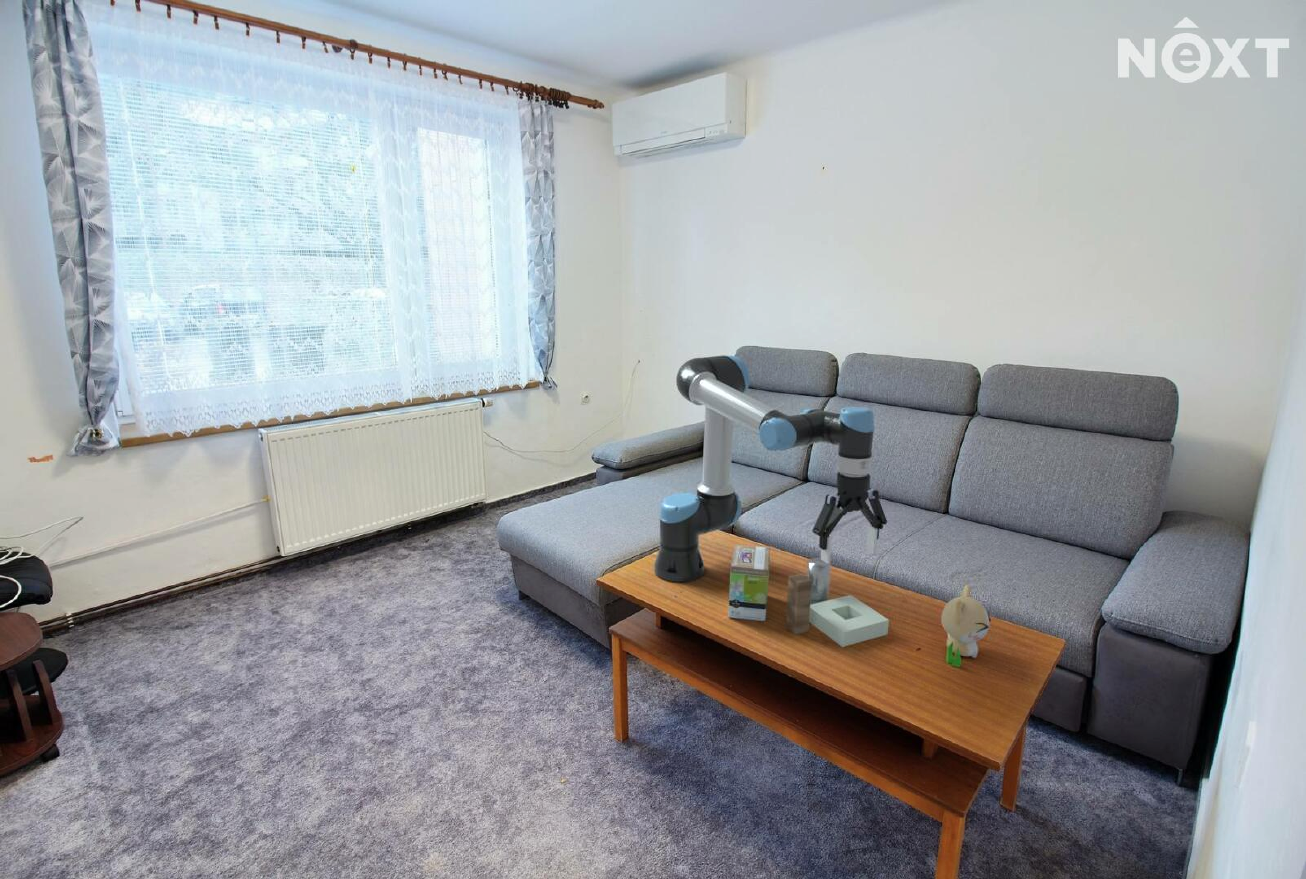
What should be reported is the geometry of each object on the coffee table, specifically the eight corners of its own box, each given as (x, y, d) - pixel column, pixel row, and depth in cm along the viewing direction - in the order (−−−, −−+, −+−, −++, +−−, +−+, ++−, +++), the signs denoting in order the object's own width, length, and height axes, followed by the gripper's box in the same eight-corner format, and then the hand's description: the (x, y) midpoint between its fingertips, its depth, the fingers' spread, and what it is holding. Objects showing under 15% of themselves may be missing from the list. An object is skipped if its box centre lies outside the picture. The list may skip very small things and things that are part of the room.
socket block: (806, 619, 160) (807, 605, 159) (849, 608, 165) (850, 594, 164) (842, 647, 147) (843, 632, 146) (887, 634, 152) (888, 619, 152)
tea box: (766, 622, 159) (769, 569, 155) (727, 618, 160) (729, 566, 157) (768, 594, 173) (770, 545, 169) (732, 591, 175) (733, 543, 171)
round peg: (801, 600, 170) (803, 559, 167) (818, 596, 172) (821, 556, 169) (814, 609, 164) (817, 568, 162) (832, 605, 167) (835, 564, 164)
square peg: (785, 627, 156) (788, 576, 153) (799, 623, 158) (801, 573, 154) (795, 634, 153) (798, 583, 149) (808, 631, 154) (811, 580, 151)
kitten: (978, 675, 136) (986, 614, 132) (930, 660, 142) (937, 601, 138) (990, 645, 148) (998, 588, 144) (945, 632, 153) (951, 576, 150)
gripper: (819, 483, 138) (815, 571, 142) (906, 470, 146) (899, 554, 151) (799, 474, 144) (796, 559, 149) (884, 463, 153) (878, 543, 158)
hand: (848, 556), depth 150 cm, fingers open, 13 cm apart
